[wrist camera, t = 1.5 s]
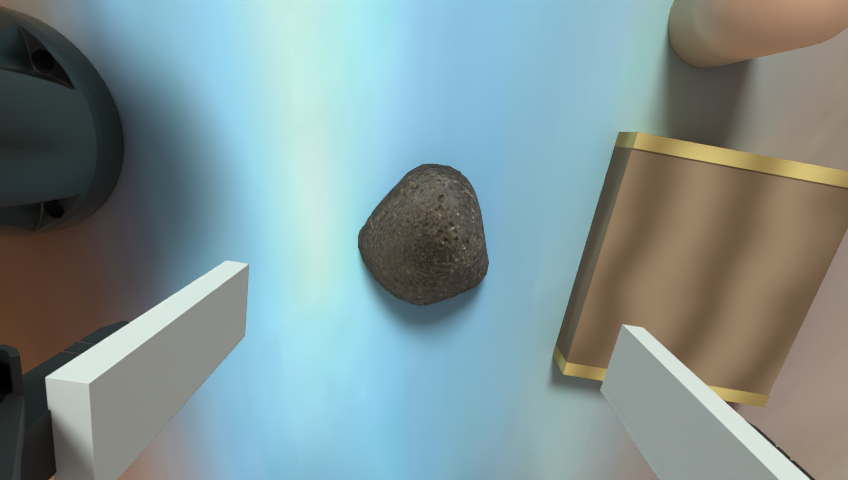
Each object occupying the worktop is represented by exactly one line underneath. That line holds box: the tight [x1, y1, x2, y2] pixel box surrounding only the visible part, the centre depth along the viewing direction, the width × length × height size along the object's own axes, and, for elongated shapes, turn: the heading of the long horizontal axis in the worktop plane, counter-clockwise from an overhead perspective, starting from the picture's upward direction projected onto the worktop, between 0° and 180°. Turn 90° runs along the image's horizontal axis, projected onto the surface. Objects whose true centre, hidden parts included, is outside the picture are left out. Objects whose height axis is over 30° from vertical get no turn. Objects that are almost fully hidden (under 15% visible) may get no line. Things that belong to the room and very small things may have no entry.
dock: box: [553, 132, 848, 407], centre depth 29 cm, size 16×18×3 cm
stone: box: [358, 164, 489, 305], centre depth 28 cm, size 10×8×10 cm
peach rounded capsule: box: [668, 0, 848, 68], centre depth 23 cm, size 6×6×7 cm
